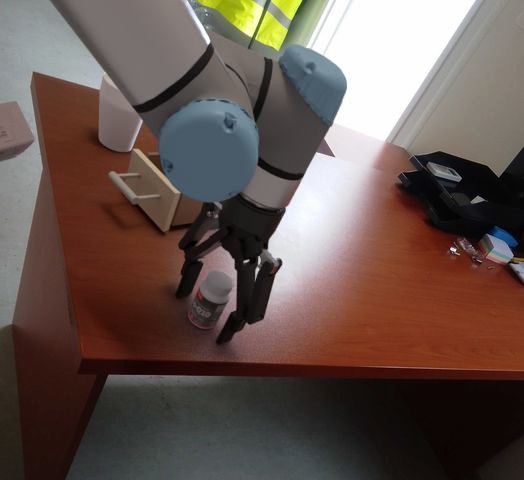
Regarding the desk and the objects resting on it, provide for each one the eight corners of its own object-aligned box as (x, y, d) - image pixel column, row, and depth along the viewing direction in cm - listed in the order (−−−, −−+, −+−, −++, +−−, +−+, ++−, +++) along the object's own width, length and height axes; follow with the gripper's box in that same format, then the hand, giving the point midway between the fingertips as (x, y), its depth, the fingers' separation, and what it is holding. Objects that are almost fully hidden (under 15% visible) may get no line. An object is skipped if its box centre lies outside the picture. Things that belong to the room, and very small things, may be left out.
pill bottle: (181, 313, 69) (198, 272, 64) (202, 303, 73) (220, 264, 67) (202, 334, 68) (221, 294, 63) (222, 323, 72) (242, 285, 66)
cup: (146, 153, 96) (160, 96, 88) (114, 158, 90) (126, 98, 82) (116, 129, 98) (127, 70, 90) (82, 133, 91) (91, 70, 83)
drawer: (134, 236, 75) (145, 196, 70) (94, 190, 79) (102, 148, 74) (218, 222, 89) (233, 187, 83) (181, 183, 92) (192, 148, 87)
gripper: (339, 247, 55) (264, 361, 70) (225, 140, 61) (179, 265, 76) (303, 258, 50) (230, 378, 65) (182, 140, 56) (141, 274, 71)
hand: (202, 317), depth 70 cm, fingers open, 10 cm apart
